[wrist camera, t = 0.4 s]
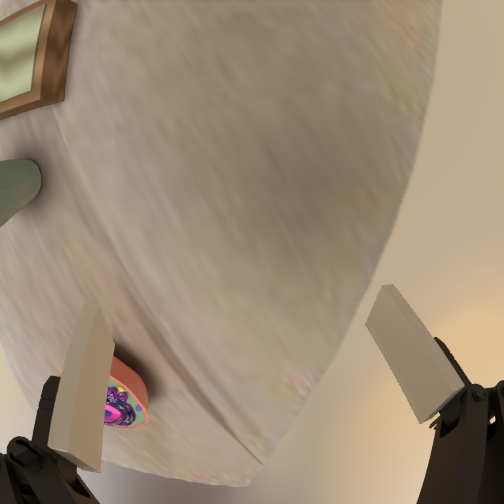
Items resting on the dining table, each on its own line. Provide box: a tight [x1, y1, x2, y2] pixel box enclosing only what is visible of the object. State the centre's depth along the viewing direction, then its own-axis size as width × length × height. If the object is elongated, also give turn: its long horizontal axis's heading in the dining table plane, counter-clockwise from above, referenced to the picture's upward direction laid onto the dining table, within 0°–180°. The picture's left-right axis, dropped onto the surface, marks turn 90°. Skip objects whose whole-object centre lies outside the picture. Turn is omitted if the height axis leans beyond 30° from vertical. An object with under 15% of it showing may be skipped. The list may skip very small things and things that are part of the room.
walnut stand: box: [0, 0, 77, 120], centre depth 22 cm, size 16×16×6 cm
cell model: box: [60, 356, 149, 429], centre depth 43 cm, size 17×20×11 cm
